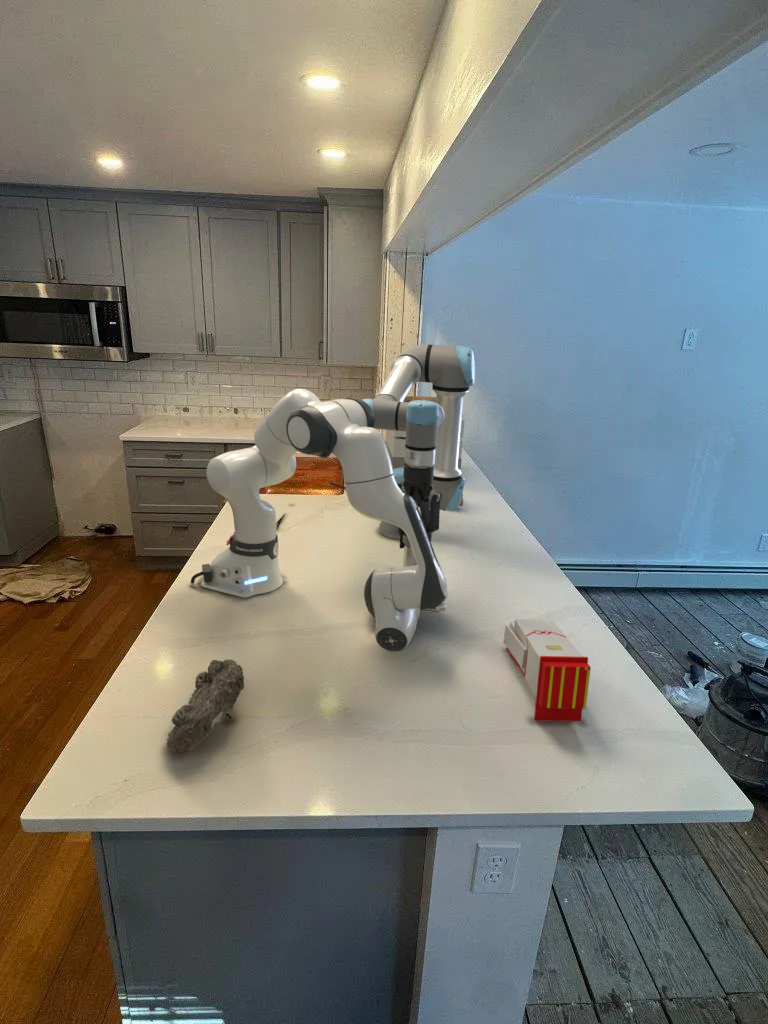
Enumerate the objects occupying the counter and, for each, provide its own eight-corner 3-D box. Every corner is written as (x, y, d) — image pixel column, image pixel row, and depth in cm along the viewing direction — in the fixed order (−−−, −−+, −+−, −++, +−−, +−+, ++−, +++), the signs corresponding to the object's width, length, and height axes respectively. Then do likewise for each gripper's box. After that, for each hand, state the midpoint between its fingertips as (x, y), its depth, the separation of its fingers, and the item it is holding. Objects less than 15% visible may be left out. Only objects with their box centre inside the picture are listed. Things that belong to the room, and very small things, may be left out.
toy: (549, 604, 136) (599, 663, 106) (544, 656, 138) (591, 727, 109) (499, 603, 135) (535, 662, 106) (495, 655, 138) (529, 726, 109)
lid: (430, 544, 146) (430, 536, 146) (412, 548, 143) (412, 541, 142) (416, 536, 151) (416, 529, 150) (397, 540, 148) (398, 533, 147)
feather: (292, 507, 224) (294, 503, 223) (275, 531, 197) (278, 527, 197) (288, 505, 224) (291, 501, 223) (271, 528, 197) (273, 524, 197)
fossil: (192, 660, 117) (244, 628, 112) (224, 691, 120) (276, 661, 115) (142, 746, 98) (202, 712, 93) (182, 779, 101) (242, 748, 96)
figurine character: (463, 515, 225) (458, 499, 238) (465, 497, 221) (460, 482, 235) (446, 514, 224) (442, 498, 238) (448, 497, 221) (444, 482, 235)
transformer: (382, 463, 289) (386, 382, 275) (445, 464, 293) (451, 384, 279) (390, 482, 257) (394, 392, 243) (460, 483, 261) (468, 394, 247)
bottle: (398, 605, 152) (402, 539, 145) (404, 597, 156) (408, 533, 150) (415, 609, 150) (420, 543, 144) (421, 601, 154) (426, 536, 148)
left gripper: (446, 600, 136) (451, 575, 149) (363, 589, 140) (375, 566, 153) (444, 623, 138) (449, 597, 151) (363, 612, 142) (374, 587, 155)
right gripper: (380, 459, 143) (377, 544, 151) (441, 475, 132) (434, 566, 139) (399, 454, 148) (395, 536, 156) (459, 469, 137) (451, 557, 145)
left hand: (411, 581), depth 152 cm, fingers closed on bottle, 5 cm apart
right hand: (413, 550), depth 148 cm, fingers closed on lid, 6 cm apart
